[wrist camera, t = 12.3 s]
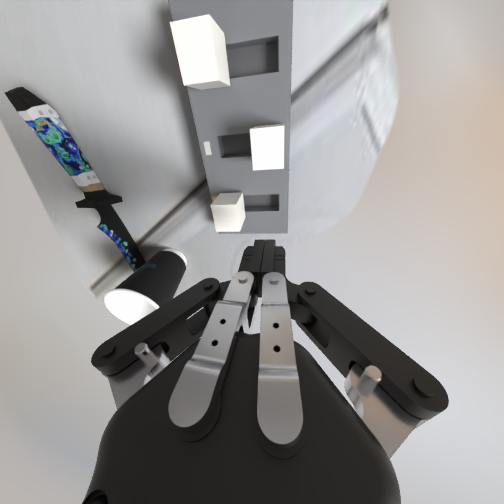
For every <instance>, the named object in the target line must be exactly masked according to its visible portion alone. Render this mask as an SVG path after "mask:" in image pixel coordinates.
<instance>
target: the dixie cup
mask: <svg viewBox="0 0 504 504" xmlns="http://www.w3.org/2000/svg"><path fill="white" fill-rule="evenodd" d="M186 265H187V260H186V258H185V257H184V255H183V254H182V253H180V252H179V251H177V250H175V249H171V248H168V249H164V250H163V251H160V252H158V253H157V254H156V255H155V256H153V257H152V258H151V259H150V260H149V261H147V262H146V263H145V264H144V265H143V266H141V267H140V268H139V269H138V270H137V271H135V272H134V273H133V274H132V275H131V276H129V277H128V278H127V279H126V280H125V281H123V282H122V283H121V284H120V285H118V286H117V287H116V288H115V289H112V290H110V291H108V292H107V293H106V294H105V296H104V302H105V305H106V307H107V308H108V310H109V311H110V312H111V313H112V314H113V315H115V316H116V317H117V318H119V319H120V320H122V321H124V322H126V323H128V324H130V325H132V324H134V323H135V322H137V321H139V320H140V319H142V318H143V317H145V316H146V315H148V314H150V313H151V312H153V311H154V310H156V309H158V308H159V307H161V306H162V305H164V304H166V303H167V302H169V301H170V300H172V299H173V297H174V294H175V292H176V290H177V288H178V286H179V283H180V281H181V279H182V277H183V275H184V272H185V270H186Z"/></svg>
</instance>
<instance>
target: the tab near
mask: <svg viewBox="0 0 504 504" xmlns="http://www.w3.org/2000/svg"><path fill="white" fill-rule="evenodd" d="M170 26H171V30H172V35H173V39H174V44H175V48H176V53H177V57H178V62H179V66H180V71H181V75H182V80H183V84H184V86H188V87H192V88H196V89H200V90H204V89H211V88H219V87H226V86H230V79H229V70H228V61H227V53H226V44H225V36H224V32H223V31H222V30H221V29H220V27H219V26H218V25H217V23H216V22H215V21H214V20H213V18H212V17H211V16H210V15H209V14H207V15H203V16H198V17H193V18H188V19H183V20H178V21H173V22H170Z"/></svg>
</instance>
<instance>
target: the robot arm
mask: <svg viewBox="0 0 504 504" xmlns="http://www.w3.org/2000/svg"><path fill="white" fill-rule="evenodd" d="M258 297H262V304H261V325H260V326H261V327H260V333H258V334H251V330H252V326H253V322H254V318H255V313H256V309H257V300H258ZM202 307H204V308H203V309H201V310H200V311H199V312H197V313H196V314H194V315H193V316H192V317H190V318H189V319H187V318H188V317H189V316H191V315H192V314H193V313H195V312H196V311H197V310H199V309H200V308H202ZM291 319H294V320H296V323H297V325H298V326H299V327H300V328H301V329H302V330H303V331H304V332H305V334H306V335H307V336H308V337H309V338H310V339H311V340H312V341H313V342H314V344H315V345H316V346H317V347H318V348H319V349H320V350H321V351H322V353H323V354H325V356H326V357H327V358H328V359H329V360H330V361H331V362H332V364H333V365H334V366H335V367H336V368H337V369H338V370H339V372H341V374H342V375H343V376H344V377H345V378H346V380H345V391H346V394H347V395H348V397H349V399H350V400H351V402H352V403H353V405H354V407H355V410H356V411H355V410H354V409H353V408H352V406H351V405H350V404H349V403H348V401H347V400H346V399H345V397H344V396H343V395H342V394H341V392H340V391H339V390H338V388H337V387H336V386H335V385H334V383H333V382H332V381H331V380H330V378H329V377H328V376H327V374H326V373H325V372H324V371H323V369H322V368H321V367H320V366H319V365H318V363H317V362H316V360H315V359H314V358H313V357H312V355H311V354H310V353H309V352H308V351H307V350H306V349H305V348H304V347H303V346H301V345H300V344H299V343H297V342H295V341H293V333H292V324H291ZM200 337H201V338H200ZM199 338H200V339H199ZM189 346H190V347H189ZM184 350H185V351H184ZM183 351H184V352H183ZM182 352H183V353H182ZM179 354H180V355H179ZM178 355H179V356H178ZM177 356H178V357H177ZM176 357H177V358H176ZM175 358H176V359H175ZM173 359H174V360H173ZM172 360H173V361H172ZM170 361H172V362H171V363H170ZM91 363H92V365H93V366H94V367H96V368H97V369H98V370H99V371H101V372H102V374H103V375H104V376H105V377H106V378H108V380H109V383H110V387H111V390H112V393H113V397H114V400H115V404H116V407H117V411H116V412H115V414H114V415H113V417H112V418H111V420H110V421H109V423H108V425H107V427H106V429H105V431H104V434H103V436H102V439H101V442H100V446H99V451H98V457H97V462H96V467H95V470H94V474H93V477H92V480H91V483H90V486H89V489H88V491H87V494H86V496H85V499H84V501H83V503H82V504H401V497H400V490H399V484H398V480H397V477H396V474H395V471H394V468H393V466H392V463H391V461H390V458H391V457H392V455H393V454H394V453H395V452H396V450H397V449H398V448H399V447H400V445H401V444H402V443H403V442H404V440H405V439H406V438H407V437H408V435H409V434H410V433H411V432H412V430H414V429H415V428H416V427H418V426H420V425H421V424H423V423H425V422H426V421H428V420H429V419H431V418H433V417H434V416H436V415H437V414H439V413H440V412H442V411H443V410H445V409H446V408H447V407H448V402H449V400H448V395H447V393H446V391H445V389H444V388H443V386H442V385H441V383H440V382H439V381H438V380H437V379H436V378H435V377H434V376H433V375H431V374H430V373H429V372H428V371H426V370H425V369H424V368H423V367H421V366H420V365H419V364H418V363H416V362H415V361H414V360H413V359H411V358H410V357H409V356H407V355H406V354H405V353H404V352H402V351H401V350H400V349H399V348H397V347H396V346H395V345H394V344H392V343H391V342H390V341H389V340H387V339H386V338H385V337H384V336H382V335H381V334H380V333H379V332H377V331H376V330H375V329H374V328H372V327H371V326H370V325H369V324H367V323H366V322H365V321H363V320H362V319H361V318H360V317H358V316H357V315H356V314H355V313H354V312H352V311H351V310H349V309H348V308H347V307H346V306H345V305H343V304H342V303H341V302H340V301H338V300H337V299H336V298H335V297H333V296H332V295H331V294H330V293H328V292H327V291H326V290H325V289H323V288H322V287H321V286H320V285H318V284H316V283H314V282H304V283H301V284H300V285H297V284H293V283H291V282H290V281H288V280H287V278H286V276H285V250H284V248H283V247H282V246H276V243H275V240H255V242H254V246H248V247H247V248H246V249H245V250H244V253H243V256H242V260H241V263H240V267H239V270H238V273H236V274H235V275H234V276H233V277H232V279H231V280H230V281H226V282H222V283H219V281H218V280H217V279H215V278H207V279H204V280H202V281H200V282H199V283H197V284H196V285H194V286H192V287H191V288H189V289H188V290H186V291H185V292H183V293H181V294H180V295H178V296H177V297H175V298H173V299H172V300H170V301H169V302H167V303H166V304H164V305H162V306H161V307H159V308H158V309H156V310H154V311H153V312H151V313H150V314H148V315H146V316H145V317H143V318H142V319H140V320H139V321H137V322H135V323H134V324H132V325H131V326H129V327H127V328H126V329H124V330H123V331H121V332H120V333H118V334H116V335H115V336H113V337H112V338H110V339H109V340H107V341H105V342H104V343H103V344H101V345H100V346H99V347H98V348H97V349H96V351H95V352H94V354H93V356H92V359H91ZM169 363H170V364H169Z"/></svg>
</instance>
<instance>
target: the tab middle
mask: <svg viewBox="0 0 504 504" xmlns="http://www.w3.org/2000/svg"><path fill="white" fill-rule="evenodd" d="M250 138H251V151H252V164H253V170H269V169H284V124H275V125H264V126H255V127H253V128H251V129H250Z"/></svg>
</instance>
